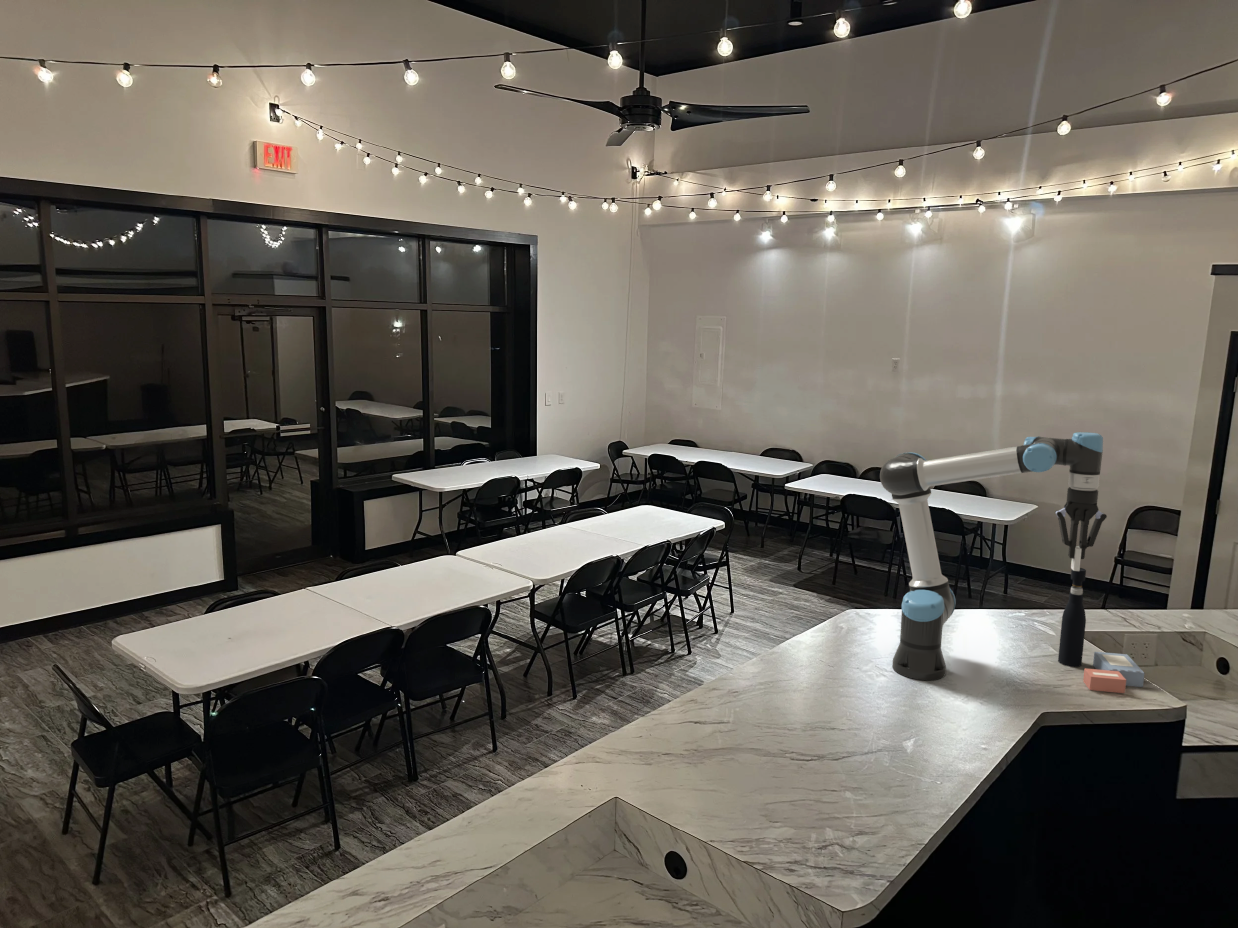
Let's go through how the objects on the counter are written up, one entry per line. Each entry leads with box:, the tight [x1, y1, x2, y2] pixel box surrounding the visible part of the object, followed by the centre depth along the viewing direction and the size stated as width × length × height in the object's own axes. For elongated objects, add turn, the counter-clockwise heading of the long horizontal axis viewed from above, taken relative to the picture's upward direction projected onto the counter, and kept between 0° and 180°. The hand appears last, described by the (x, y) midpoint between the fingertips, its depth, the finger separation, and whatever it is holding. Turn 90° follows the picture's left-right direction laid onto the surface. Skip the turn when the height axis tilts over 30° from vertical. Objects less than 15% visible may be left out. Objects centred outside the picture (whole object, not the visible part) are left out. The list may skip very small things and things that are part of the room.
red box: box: [1082, 668, 1127, 694], centre depth 236 cm, size 9×6×4 cm, turn 76°
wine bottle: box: [1057, 567, 1087, 668], centre depth 252 cm, size 6×6×30 cm
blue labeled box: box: [1092, 651, 1145, 688], centre depth 245 cm, size 9×14×4 cm, turn 166°
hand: (1075, 569), depth 234 cm, fingers closed
